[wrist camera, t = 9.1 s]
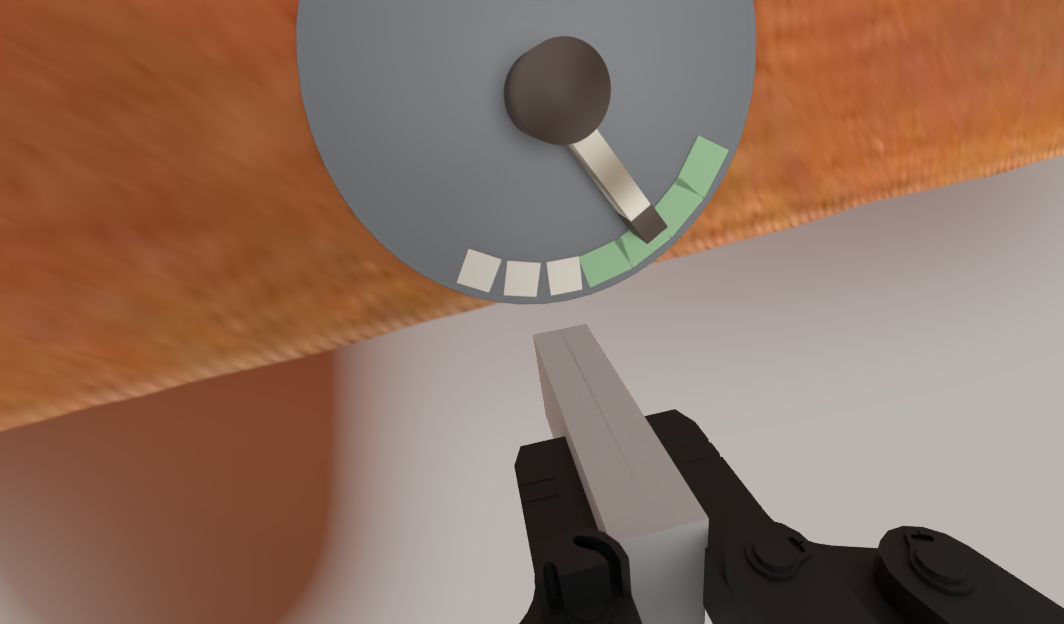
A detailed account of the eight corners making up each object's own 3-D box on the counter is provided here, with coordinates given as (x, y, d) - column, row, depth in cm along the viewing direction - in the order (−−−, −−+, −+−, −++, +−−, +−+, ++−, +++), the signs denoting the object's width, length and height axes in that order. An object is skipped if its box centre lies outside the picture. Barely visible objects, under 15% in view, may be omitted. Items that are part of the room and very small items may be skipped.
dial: (182, 44, 24) (176, 43, 24) (597, -386, 21) (601, -398, 20) (510, 368, 36) (511, 372, 36) (813, 133, 32) (819, 133, 32)
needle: (486, 89, 27) (494, 86, 23) (550, 27, 26) (571, 11, 22) (615, 249, 33) (641, 273, 28) (670, 202, 32) (707, 218, 27)
